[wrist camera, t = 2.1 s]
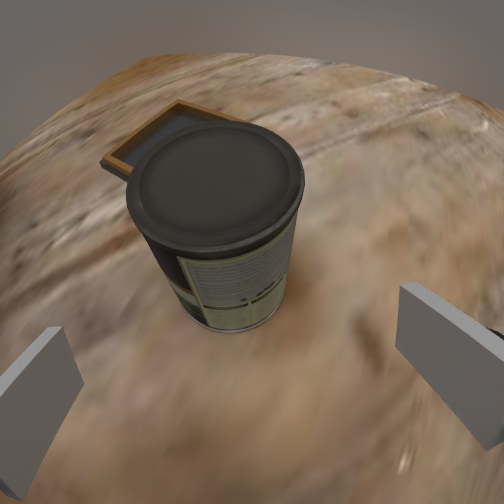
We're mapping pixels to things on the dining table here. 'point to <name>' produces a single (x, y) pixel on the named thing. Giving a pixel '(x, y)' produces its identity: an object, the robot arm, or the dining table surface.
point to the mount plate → (156, 134)
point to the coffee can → (220, 218)
